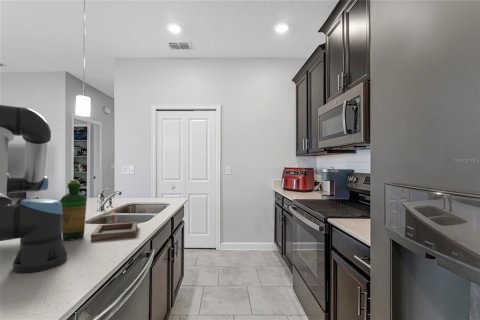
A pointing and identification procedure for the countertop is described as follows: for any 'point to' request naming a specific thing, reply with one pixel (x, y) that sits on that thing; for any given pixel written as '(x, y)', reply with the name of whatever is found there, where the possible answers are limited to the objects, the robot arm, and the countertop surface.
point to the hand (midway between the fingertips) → (68, 205)
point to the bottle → (73, 212)
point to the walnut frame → (114, 231)
